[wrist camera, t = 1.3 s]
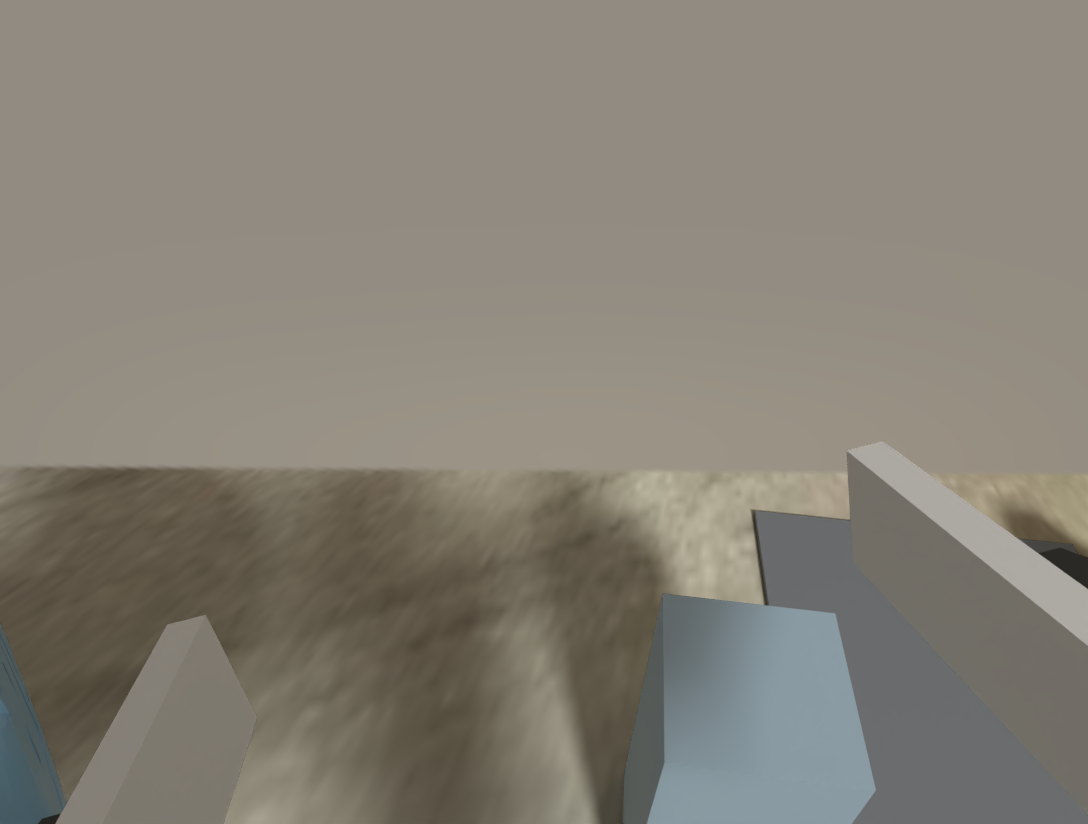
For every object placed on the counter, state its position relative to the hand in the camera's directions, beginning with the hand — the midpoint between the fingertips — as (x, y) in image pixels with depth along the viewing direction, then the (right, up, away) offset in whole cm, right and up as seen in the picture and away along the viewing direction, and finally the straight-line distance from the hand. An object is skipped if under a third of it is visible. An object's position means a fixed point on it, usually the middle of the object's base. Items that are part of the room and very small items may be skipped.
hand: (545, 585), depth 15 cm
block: (+6, -16, +17) cm, 24 cm away
